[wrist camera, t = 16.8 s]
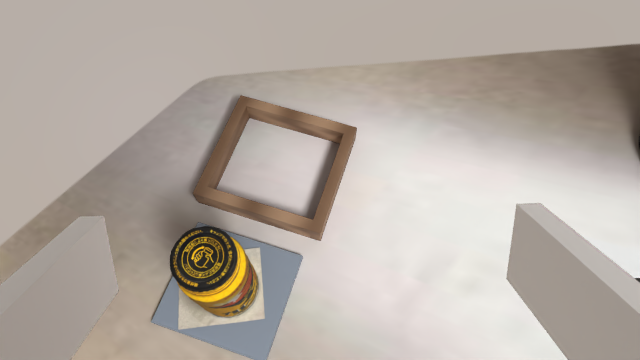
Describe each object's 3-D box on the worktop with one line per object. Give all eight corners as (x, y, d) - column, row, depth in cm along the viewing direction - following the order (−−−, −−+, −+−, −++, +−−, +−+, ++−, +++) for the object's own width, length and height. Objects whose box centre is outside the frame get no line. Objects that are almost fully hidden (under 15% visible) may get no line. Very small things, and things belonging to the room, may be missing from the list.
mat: (302, 257, 48) (302, 255, 47) (265, 363, 43) (264, 363, 43) (199, 223, 49) (198, 222, 49) (153, 322, 45) (151, 322, 44)
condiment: (265, 318, 45) (247, 295, 34) (178, 330, 44) (132, 309, 33) (260, 247, 48) (242, 205, 37) (179, 257, 47) (137, 217, 36)
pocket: (355, 138, 54) (356, 127, 52) (320, 241, 49) (320, 233, 46) (243, 107, 56) (240, 95, 54) (198, 202, 50) (192, 193, 48)
